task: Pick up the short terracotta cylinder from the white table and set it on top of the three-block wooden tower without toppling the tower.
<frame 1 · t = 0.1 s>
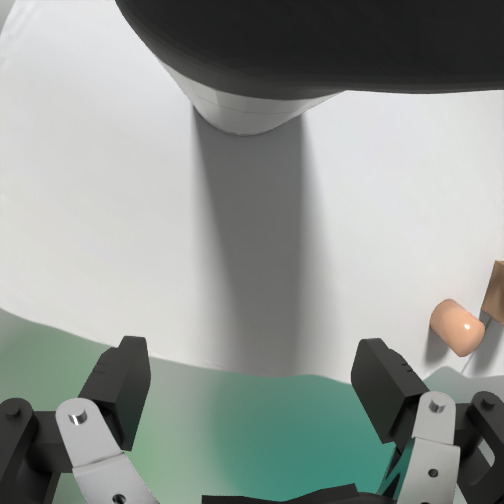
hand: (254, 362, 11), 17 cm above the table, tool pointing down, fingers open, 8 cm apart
cylinder: (443, 315, 32), on the table
tower base: (501, 284, 32), on the table, touching tower mid
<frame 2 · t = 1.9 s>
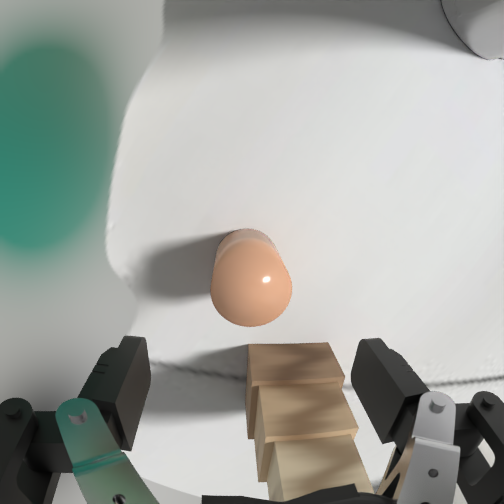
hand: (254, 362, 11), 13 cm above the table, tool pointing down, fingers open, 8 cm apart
cylinder: (246, 258, 23), on the table
tower mid: (294, 411, 22), point 5 cm above the table, touching tower base, tower top
tower base: (284, 374, 26), on the table, touching tower mid
cylinder 2: (459, 456, 37), on the table
tower top: (306, 459, 17), point 10 cm above the table, touching tower mid
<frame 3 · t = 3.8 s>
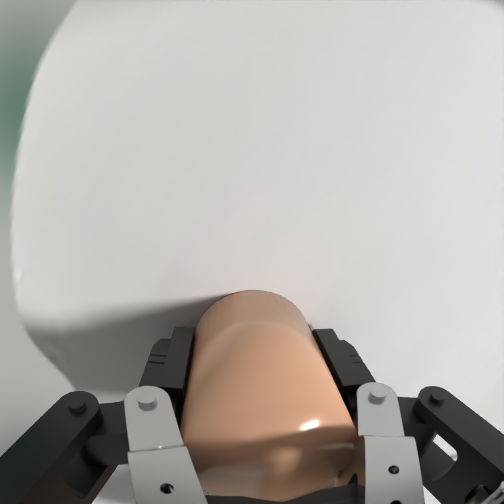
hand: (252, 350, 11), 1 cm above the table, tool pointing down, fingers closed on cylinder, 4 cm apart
cylinder: (252, 342, 12), on the table, touching gripper
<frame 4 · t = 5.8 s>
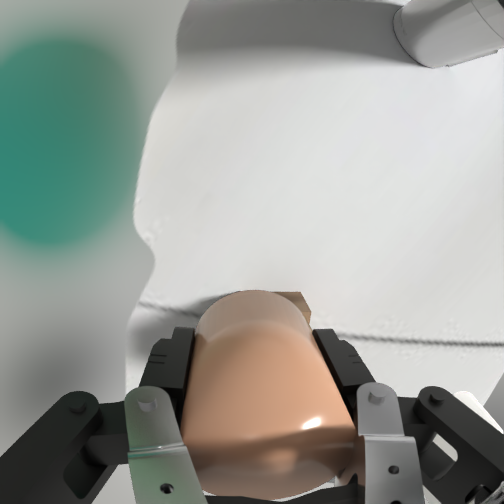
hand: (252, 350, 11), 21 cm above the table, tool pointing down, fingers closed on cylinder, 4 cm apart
cylinder: (252, 342, 12), point 21 cm above the table, touching gripper
tower base: (267, 318, 35), on the table, touching tower mid
cylinder 2: (438, 424, 46), on the table
when the fingers open (17 cm above the table, at t = 7.7 s): cylinder drops 1 cm, resting on tower top.
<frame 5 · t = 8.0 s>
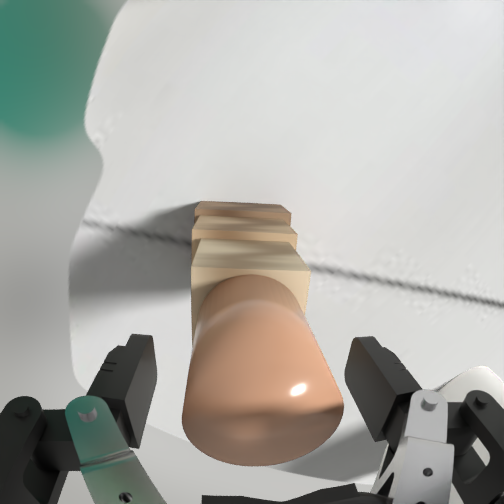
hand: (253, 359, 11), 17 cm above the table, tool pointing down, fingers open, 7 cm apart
cylinder: (250, 323, 13), point 15 cm above the table, touching tower top
tower mid: (239, 256, 23), point 5 cm above the table, touching tower base, tower top
tower base: (238, 241, 28), on the table, touching tower mid
cylinder 2: (453, 408, 39), on the table
tower top: (243, 281, 18), point 10 cm above the table, touching cylinder, tower mid
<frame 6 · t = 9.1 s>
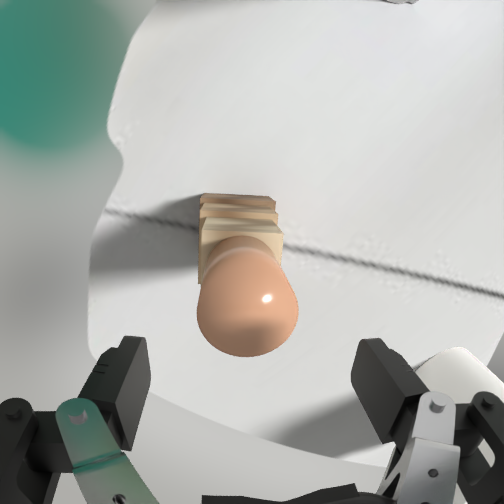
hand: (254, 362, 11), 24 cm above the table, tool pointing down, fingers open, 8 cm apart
cylinder: (241, 271, 19), point 15 cm above the table, touching tower top
tower mid: (235, 235, 29), point 5 cm above the table, touching tower base, tower top
tower base: (234, 226, 34), on the table, touching tower mid
cylinder 2: (435, 388, 45), on the table
tower top: (237, 249, 24), point 10 cm above the table, touching cylinder, tower mid
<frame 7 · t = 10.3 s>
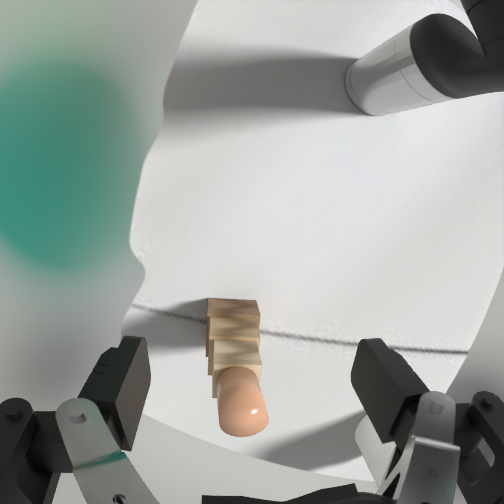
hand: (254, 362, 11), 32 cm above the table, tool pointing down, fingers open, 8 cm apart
cylinder: (237, 383, 31), point 15 cm above the table, touching tower top
tower mid: (231, 336, 40), point 5 cm above the table, touching tower base, tower top
tower base: (230, 320, 45), on the table, touching tower mid
cylinder 2: (390, 420, 57), on the table
tower top: (233, 357, 36), point 10 cm above the table, touching cylinder, tower mid
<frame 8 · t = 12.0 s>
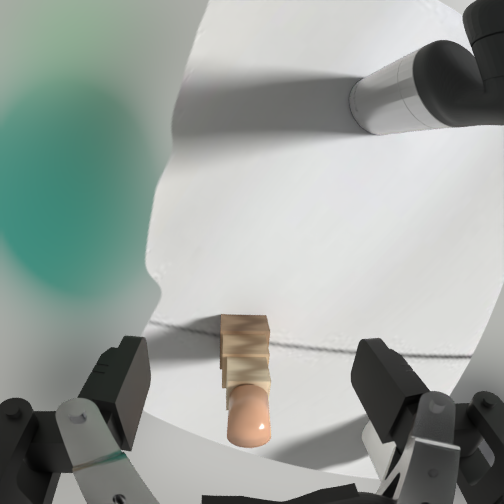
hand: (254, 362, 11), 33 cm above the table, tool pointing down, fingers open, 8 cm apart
cylinder: (248, 397, 33), point 15 cm above the table, tilted 6°, touching tower top
tower mid: (243, 351, 43), point 5 cm above the table, touching tower base, tower top
tower base: (242, 333, 48), on the table, touching tower mid
cylinder 2: (396, 422, 59), on the table
tower top: (245, 371, 38), point 10 cm above the table, touching cylinder, tower mid
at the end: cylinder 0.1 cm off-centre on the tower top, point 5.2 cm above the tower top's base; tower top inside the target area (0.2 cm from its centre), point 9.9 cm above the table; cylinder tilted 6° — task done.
